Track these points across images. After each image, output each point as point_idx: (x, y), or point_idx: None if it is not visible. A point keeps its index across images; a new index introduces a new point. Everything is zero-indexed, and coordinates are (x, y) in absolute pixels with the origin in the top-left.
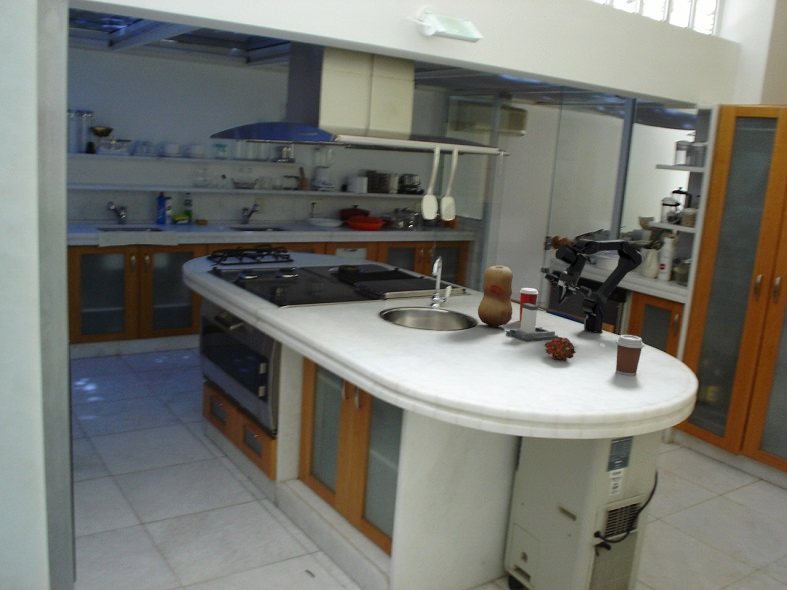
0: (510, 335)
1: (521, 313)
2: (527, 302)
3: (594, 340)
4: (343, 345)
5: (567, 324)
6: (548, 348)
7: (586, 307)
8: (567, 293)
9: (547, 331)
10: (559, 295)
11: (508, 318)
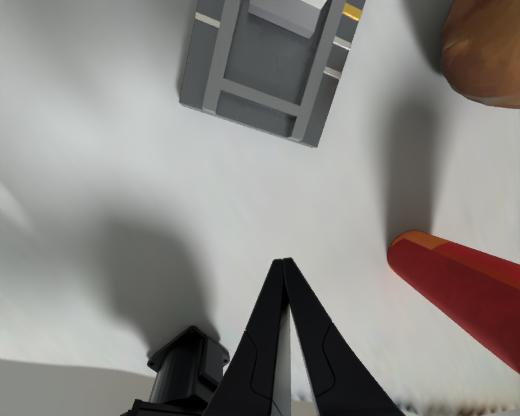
0: None
1: (452, 242)
2: (495, 271)
3: (77, 234)
4: None
5: (296, 347)
6: None
7: None
8: (225, 408)
9: (231, 81)
10: (323, 321)
11: (460, 14)
